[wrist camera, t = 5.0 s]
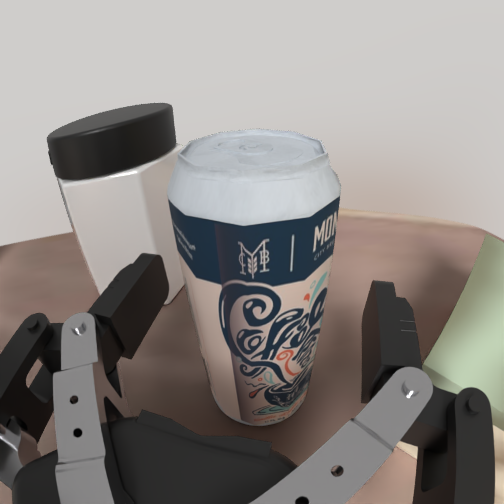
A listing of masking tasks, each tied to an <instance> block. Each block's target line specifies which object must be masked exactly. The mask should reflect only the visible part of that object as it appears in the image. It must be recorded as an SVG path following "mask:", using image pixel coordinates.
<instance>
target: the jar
mask: <svg viewBox="0 0 504 504" xmlns="http://www.w3.org/2000/svg"><path fill="white" fill-rule="evenodd" d="M47 143H48V148H49V152H48V153H49V157H50V161H51V164H52V165H53V168H54V172H55V175H56V177H57V180H58V184H59V187H60V190H61V194H62V198H63V201H64V204H65V207H66V211H67V214H68V217H69V220H70V223H71V226H72V229H73V232H74V235H75V237H76V240H77V243H78V246H79V248H80V251H81V254H82V256H83V259H84V262H85V264H86V267H87V269H88V272H89V274H90V277H91V279H92V281H93V283H94V285H95V287H96V289H97V291H98V293H99V295H101V294H102V293H103V291H104V290H105V289H106V288H108V285H109V284H110V282H111V281H113V279H114V277H115V276H116V275H117V274H118V273H119V271H120V270H122V269H123V268H125V267H126V266H127V265H129V264H130V263H131V264H133V263H134V261H135V260H136V259H137V258H138V257H139V255H140V254H141V253H150V254H158V255H161V257H162V258H163V262H164V266H165V270H166V274H167V278H168V282H169V294H168V298H167V300H166V301H165V303H164V304H169V303H170V302H171V301H172V300H173V298H174V297H175V296H176V295H177V293H178V292H179V291H180V289H181V288H182V287H183V286H184V279H183V274H182V270H181V265H180V260H179V255H178V250H177V245H176V240H175V235H174V230H173V225H172V219H171V214H170V208H169V202H168V196H167V188H168V183H169V181H170V178H171V175H172V172H173V170H174V167H175V164H176V162H177V160H178V156H177V154H178V153H179V152H180V151H181V150H182V149H183V148H184V147H183V145H181V144H177V143H176V135H175V127H174V117H173V108H172V106H171V105H170V104H167V103H150V104H141V105H135V106H128V107H123V108H118V109H114V110H110V111H106V112H102V113H98V114H95V115H91V116H88V117H85V118H83V119H79V120H77V121H74V122H72V123H69V124H67V125H65V126H62V127H60V128H58V129H57V130H55V131H53V132H52V133H50V134H49V135H48V137H47Z"/></svg>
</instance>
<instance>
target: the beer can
mask: <svg viewBox="0 0 504 504" xmlns="http://www.w3.org/2000/svg"><path fill="white" fill-rule="evenodd" d="M177 156H178V160H177V162H176V164H175V167H174V170H173V172H172V175H171V178H170V181H169V183H168V188H167V196H168V202H169V208H170V214H171V219H172V225H173V230H174V235H175V240H176V245H177V250H178V255H179V260H180V265H181V270H182V274H183V279H184V284H185V288H186V293H187V297H188V301H189V306H190V310H191V314H192V318H193V322H194V326H195V330H196V334H197V338H198V342H199V346H200V350H201V354H202V358H203V361H204V365H205V369H206V372H207V376H208V380H209V383H210V387H211V390H212V393H213V396H214V399H215V402H216V403H217V405H218V406H219V408H220V409H221V410H222V411H223V412H224V413H225V414H226V415H227V416H229V417H230V418H232V419H233V420H236V421H238V422H240V423H243V424H247V425H253V426H265V425H270V424H275V423H278V422H281V421H283V420H284V419H286V418H288V417H290V416H291V415H292V414H293V413H294V412H296V411H297V410H298V408H299V407H300V406H301V404H302V403H303V401H304V399H305V397H306V393H307V389H308V385H309V380H310V376H311V371H312V367H313V362H314V358H315V353H316V348H317V343H318V338H319V333H320V328H321V322H322V317H323V311H324V306H325V300H326V294H327V288H328V282H329V276H330V270H331V263H332V256H333V249H334V242H335V234H336V227H337V219H338V210H339V201H340V191H341V184H340V182H339V179H338V176H337V174H336V173H335V172H334V171H333V170H332V168H331V166H330V163H329V157H328V153H327V152H326V150H325V147H324V145H323V143H322V141H321V140H318V139H315V138H312V137H309V136H306V135H303V134H300V133H296V132H291V131H280V130H268V129H250V130H238V131H227V132H219V133H216V134H212V135H209V136H206V137H202V138H199V139H196V140H193V141H190V142H189V143H188V144H187V145H186V146H185V147H184V148H183V149H182V150H181V151H180V152H179V153H178V154H177Z"/></svg>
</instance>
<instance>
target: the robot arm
mask: <svg viewBox="0 0 504 504" xmlns="http://www.w3.org/2000/svg"><path fill="white" fill-rule="evenodd" d="M168 294H169V282H168V278H167V274H166V270H165V266H164V262H163V258H162V257H161V255H158V254H150V253H141V254H140V255H139V257H138V258H137V259H136V260H135V261H134V263H133V264H131V263H130V264H129V265H127V266H126V267H125V268H123V269H122V270H120V271H119V273H118V274H117V275H116V276H115V277H114V279H113V281H111V282H110V284H109V285H108V288H106V289H105V290H104V291H103V293H102V294H101V295H100V296H99V298H98V299H97V300H96V301H95V303H94V304H93V305H92V307H91V308H90V309H89V311H88V312H87V313H85V312H81V313H77V314H74V315H72V316H71V317H69V318H68V319H67V320H66V321H65V323H50V322H49V320H48V318H47V317H46V315H44V314H42V313H36V314H33V315H31V316H29V317H28V318H26V319H25V320H24V322H23V323H22V324H21V326H20V327H19V328H18V330H17V331H16V333H15V334H14V335H13V337H12V338H11V340H10V341H9V342H8V344H7V345H6V347H5V348H4V350H3V351H2V353H1V354H0V481H2V482H3V483H4V484H5V485H7V486H8V487H9V488H10V489H12V504H345V503H346V502H347V501H348V500H349V499H350V498H351V497H352V496H353V495H354V494H355V493H356V492H357V491H358V490H359V489H360V488H361V487H362V486H363V485H364V484H365V483H366V482H367V481H368V480H369V478H370V477H371V476H372V475H373V474H374V473H375V472H376V471H377V470H378V469H379V467H380V466H381V465H382V464H383V463H384V462H385V460H386V459H387V458H388V457H389V456H390V454H391V453H392V452H393V449H394V447H395V446H396V445H397V443H398V442H399V441H401V442H404V443H407V444H410V445H413V446H416V447H418V453H417V467H416V478H415V488H414V496H413V504H494V501H495V448H494V433H493V422H492V413H491V405H490V401H489V399H488V397H487V396H486V394H485V393H484V392H483V391H481V390H480V389H478V388H475V387H468V388H465V389H463V390H461V391H460V392H459V393H458V394H455V393H452V392H449V391H446V390H443V389H440V388H438V387H436V386H434V385H433V384H432V381H431V379H430V378H429V376H428V375H427V374H426V373H425V372H424V371H423V369H422V363H421V356H420V349H419V343H418V337H417V333H416V325H415V323H414V321H415V320H414V314H413V309H412V307H411V306H410V305H409V303H408V302H407V300H406V299H405V298H400V297H396V293H395V287H394V283H393V282H385V281H375V280H373V281H372V284H371V287H370V291H369V294H368V298H367V301H366V305H365V308H364V312H363V317H362V392H361V403H368V404H367V405H366V406H365V408H364V409H363V410H362V411H361V412H360V413H359V414H358V415H357V416H356V417H355V418H353V419H350V420H349V421H348V422H347V423H346V424H345V425H344V426H343V427H342V428H341V429H340V430H339V431H337V432H336V433H335V434H334V435H333V436H332V437H331V438H330V439H329V440H328V441H327V442H326V443H325V444H324V445H323V446H321V447H320V448H319V449H318V450H317V451H316V452H315V453H314V454H313V455H311V456H310V457H309V458H308V459H307V460H306V461H304V462H303V463H302V464H301V465H300V466H299V467H298V466H296V465H295V464H294V463H293V462H292V461H291V460H289V459H288V458H287V457H285V456H283V455H282V454H280V453H278V452H276V451H273V450H271V446H272V442H266V441H261V440H255V439H250V438H245V437H240V436H201V435H198V434H196V433H194V432H192V431H191V430H189V429H187V428H185V427H184V426H182V425H180V424H179V423H177V422H175V421H174V420H172V419H170V418H167V417H163V416H160V415H157V414H154V413H151V412H148V411H145V410H143V409H142V411H141V413H140V415H139V417H133V415H132V413H131V411H130V409H129V406H128V404H127V400H126V395H125V391H124V386H123V380H122V375H121V370H120V365H119V363H118V360H119V359H120V357H121V356H122V357H125V358H128V359H132V358H133V356H134V354H135V352H136V351H137V349H138V347H139V345H140V344H141V342H142V340H143V338H144V337H145V335H146V333H147V332H148V330H149V328H150V326H151V325H152V323H153V321H154V320H155V318H156V316H157V315H158V313H159V311H160V310H161V308H162V306H163V305H164V303H165V301H166V300H167V298H168ZM37 358H38V359H39V360H40V361H41V363H42V364H43V365H42V367H41V369H40V370H39V372H38V374H37V375H36V377H35V379H34V380H33V382H32V384H31V385H30V387H29V388H28V387H27V385H26V377H27V374H28V373H29V371H30V370H31V368H32V366H33V365H34V363H35V362H36V360H37ZM53 411H54V418H55V431H56V441H57V450H55V451H52V452H50V453H48V454H46V455H44V456H42V457H41V453H40V452H39V451H38V447H37V444H38V441H39V439H40V437H41V435H42V433H43V431H44V429H45V427H46V425H47V423H48V421H49V419H50V417H51V415H52V413H53Z"/></svg>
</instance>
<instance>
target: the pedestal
mask: <svg viewBox="0 0 504 504" xmlns="http://www.w3.org/2000/svg"><path fill="white" fill-rule="evenodd" d="M422 369H423V371H424V372H425V373H426V374H427V375H428V376H429V378H430V379H431V381H432V384H433V385H434V386H436V387H438V388H440V389H443V390H446V391H449V392H452V393H455V394H458V393H459V392H460V391H461V390H463V389H465V388H468V387H475V388H478V389H480V390H481V391H483V392H484V393H485V394H486V396H487V397H488V399H489V401H490V405H491V413H492V422H493V433H494V448H495V501H494V504H504V242H502V241H500V240H498V239H496V238H494V237H492V236H490V235H488V234H486V236H485V239H484V242H483V244H482V247H481V249H480V252H479V255H478V257H477V260H476V262H475V264H474V267H473V269H472V271H471V274H470V276H469V278H468V281H467V283H466V285H465V287H464V289H463V291H462V294H461V296H460V298H459V300H458V302H457V304H456V306H455V308H454V310H453V312H452V314H451V316H450V318H449V320H448V322H447V323H446V325H445V327H444V329H443V331H442V333H441V334H440V336H439V338H438V340H437V341H436V343H435V345H434V347H433V348H432V350H431V352H430V353H429V355H428V357H427V358H426V360H425V362H424V363H423V365H422ZM396 446H397V447H399V448H400V449H402V450H403V451H405V452H406V453H408V454H409V455H411V456H412V457H414V458H416V459H417V453H418V447H416V446H413V445H410V444H407V443H404V442H401V441H399V442H398V443H397V445H396Z"/></svg>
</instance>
